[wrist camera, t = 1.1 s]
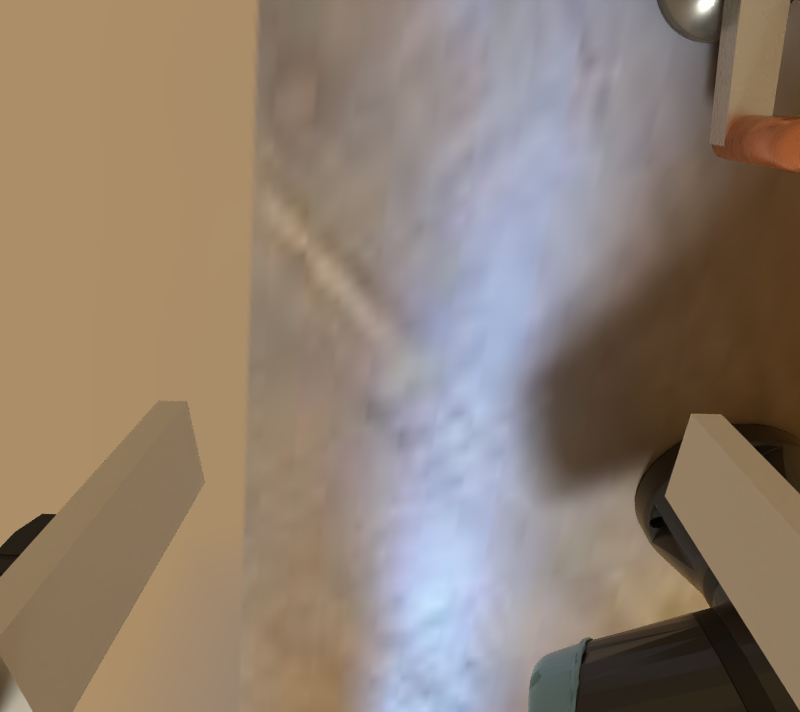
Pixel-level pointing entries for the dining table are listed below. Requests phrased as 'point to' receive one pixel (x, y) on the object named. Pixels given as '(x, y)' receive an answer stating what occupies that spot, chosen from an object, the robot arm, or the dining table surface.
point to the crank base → (694, 18)
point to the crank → (752, 87)
